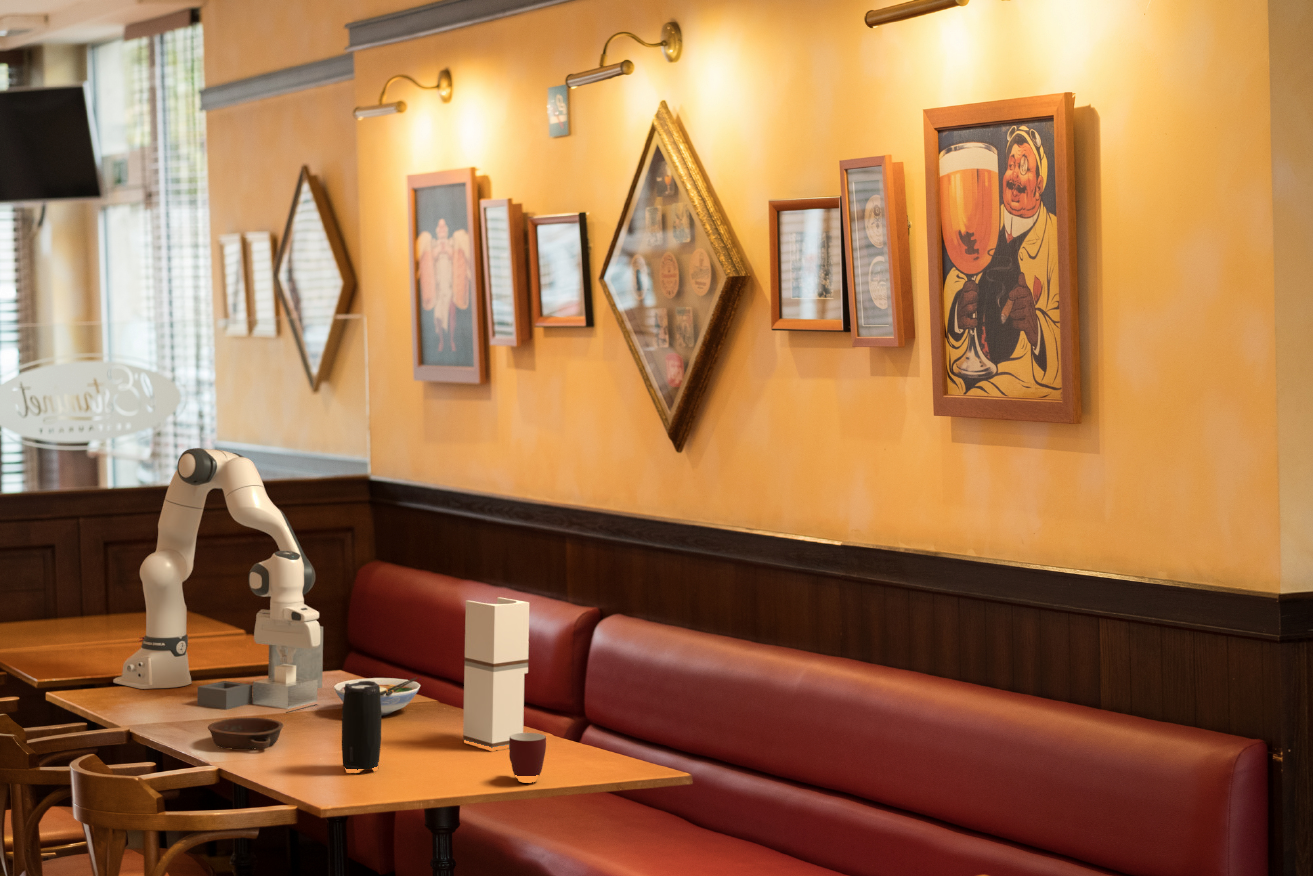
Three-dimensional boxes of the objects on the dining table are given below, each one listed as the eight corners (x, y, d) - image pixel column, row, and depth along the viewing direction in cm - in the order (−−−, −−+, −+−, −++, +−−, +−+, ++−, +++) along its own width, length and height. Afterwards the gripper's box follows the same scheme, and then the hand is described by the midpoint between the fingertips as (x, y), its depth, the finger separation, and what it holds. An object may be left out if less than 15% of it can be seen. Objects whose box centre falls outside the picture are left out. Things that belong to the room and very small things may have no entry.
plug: (274, 703, 401) (274, 666, 401) (284, 700, 404) (284, 664, 404) (285, 704, 399) (286, 667, 399) (295, 702, 403) (296, 665, 402)
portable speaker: (363, 763, 341) (364, 678, 341) (388, 770, 335) (390, 684, 335) (332, 769, 335) (334, 683, 334) (358, 777, 329) (359, 689, 328)
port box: (252, 707, 399) (252, 681, 399) (282, 700, 410) (282, 674, 410) (287, 712, 394) (288, 686, 394) (317, 705, 405) (317, 679, 404)
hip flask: (319, 685, 432) (320, 617, 431) (325, 688, 428) (326, 618, 428) (266, 690, 423) (267, 620, 422) (271, 693, 419) (272, 622, 419)
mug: (493, 779, 330) (494, 734, 329) (521, 773, 335) (522, 729, 335) (525, 788, 322) (525, 742, 322) (552, 782, 328) (553, 737, 328)
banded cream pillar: (526, 745, 362) (529, 602, 362) (492, 752, 355) (494, 605, 354) (497, 737, 371) (500, 597, 370) (463, 743, 363) (465, 600, 362)
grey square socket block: (197, 709, 396) (197, 686, 396) (223, 702, 405) (224, 680, 405) (226, 713, 391) (226, 690, 391) (252, 706, 400) (252, 684, 400)
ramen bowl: (355, 701, 410) (355, 672, 410) (433, 706, 406) (434, 676, 405) (316, 720, 386) (317, 688, 386) (399, 725, 381) (400, 694, 381)
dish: (226, 759, 343) (226, 737, 343) (193, 740, 361) (194, 720, 361) (297, 750, 354) (298, 729, 354) (263, 732, 372) (263, 712, 371)
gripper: (249, 610, 403) (248, 660, 403) (308, 616, 394) (308, 667, 394) (264, 607, 409) (264, 657, 409) (324, 613, 400) (323, 664, 400)
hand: (286, 662), depth 402 cm, fingers closed
